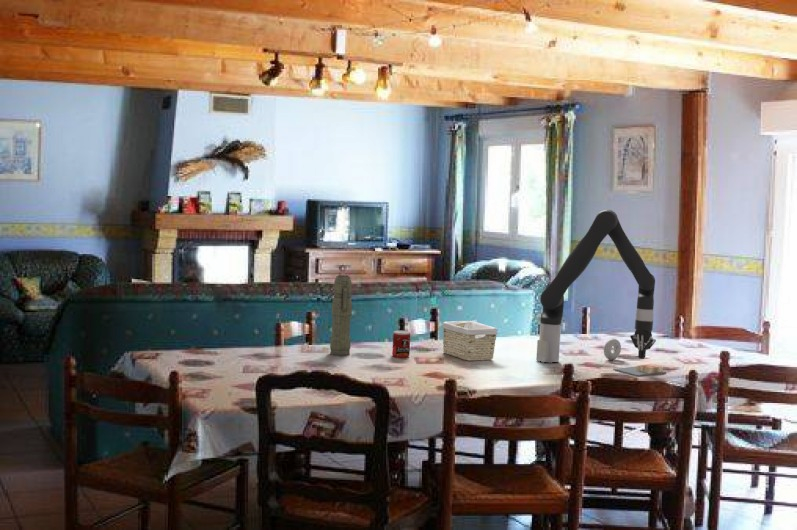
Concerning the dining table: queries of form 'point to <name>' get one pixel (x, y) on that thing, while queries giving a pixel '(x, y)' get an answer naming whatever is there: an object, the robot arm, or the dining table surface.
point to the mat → (633, 371)
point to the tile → (649, 368)
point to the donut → (616, 350)
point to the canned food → (401, 344)
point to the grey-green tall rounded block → (341, 316)
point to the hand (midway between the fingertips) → (641, 358)
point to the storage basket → (469, 340)
